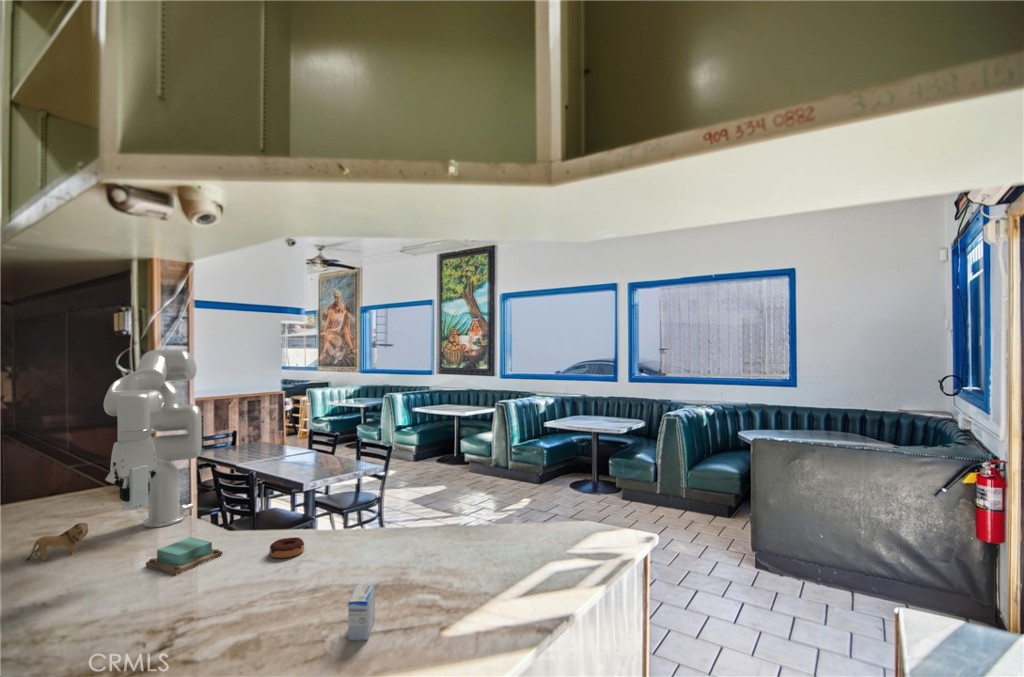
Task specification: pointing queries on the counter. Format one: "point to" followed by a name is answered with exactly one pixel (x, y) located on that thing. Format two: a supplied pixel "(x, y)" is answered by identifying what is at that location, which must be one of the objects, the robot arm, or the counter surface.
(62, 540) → the lion figurine
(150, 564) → the tower base
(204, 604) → the counter surface
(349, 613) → the medicine box
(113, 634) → the counter surface
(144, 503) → the skincare box
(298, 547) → the donut
